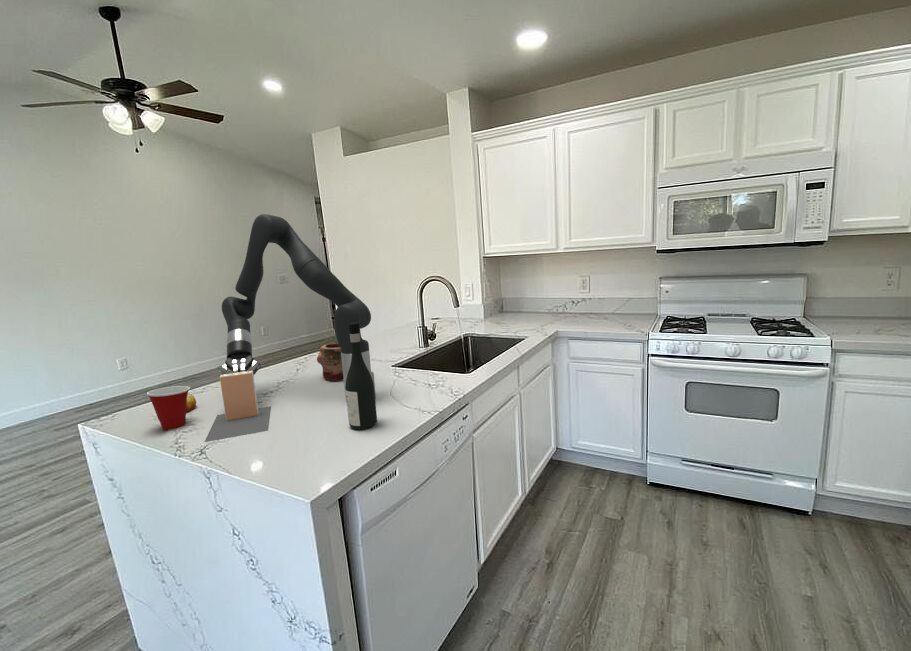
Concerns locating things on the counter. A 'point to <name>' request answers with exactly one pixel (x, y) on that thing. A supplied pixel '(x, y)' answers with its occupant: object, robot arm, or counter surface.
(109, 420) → the counter surface
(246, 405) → the cream rectangular block
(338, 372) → the decorative planter
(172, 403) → the plastic cup
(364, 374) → the wine bottle
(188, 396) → the fruit
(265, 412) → the rubber mat
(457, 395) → the counter surface
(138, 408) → the counter surface
